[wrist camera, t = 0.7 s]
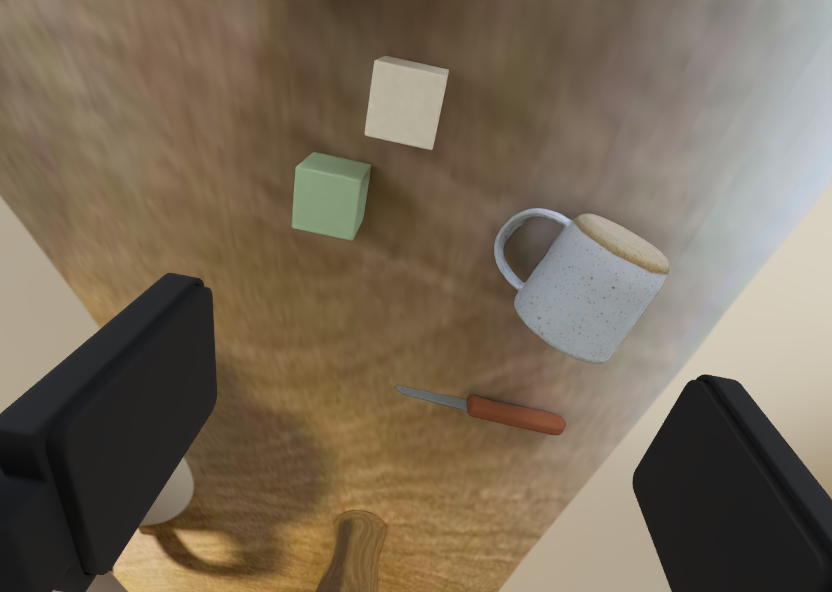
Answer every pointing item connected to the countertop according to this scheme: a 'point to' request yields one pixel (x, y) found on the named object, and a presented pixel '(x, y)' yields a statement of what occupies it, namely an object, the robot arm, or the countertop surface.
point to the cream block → (405, 101)
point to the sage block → (330, 195)
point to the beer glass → (354, 554)
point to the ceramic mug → (585, 284)
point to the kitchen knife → (495, 411)
